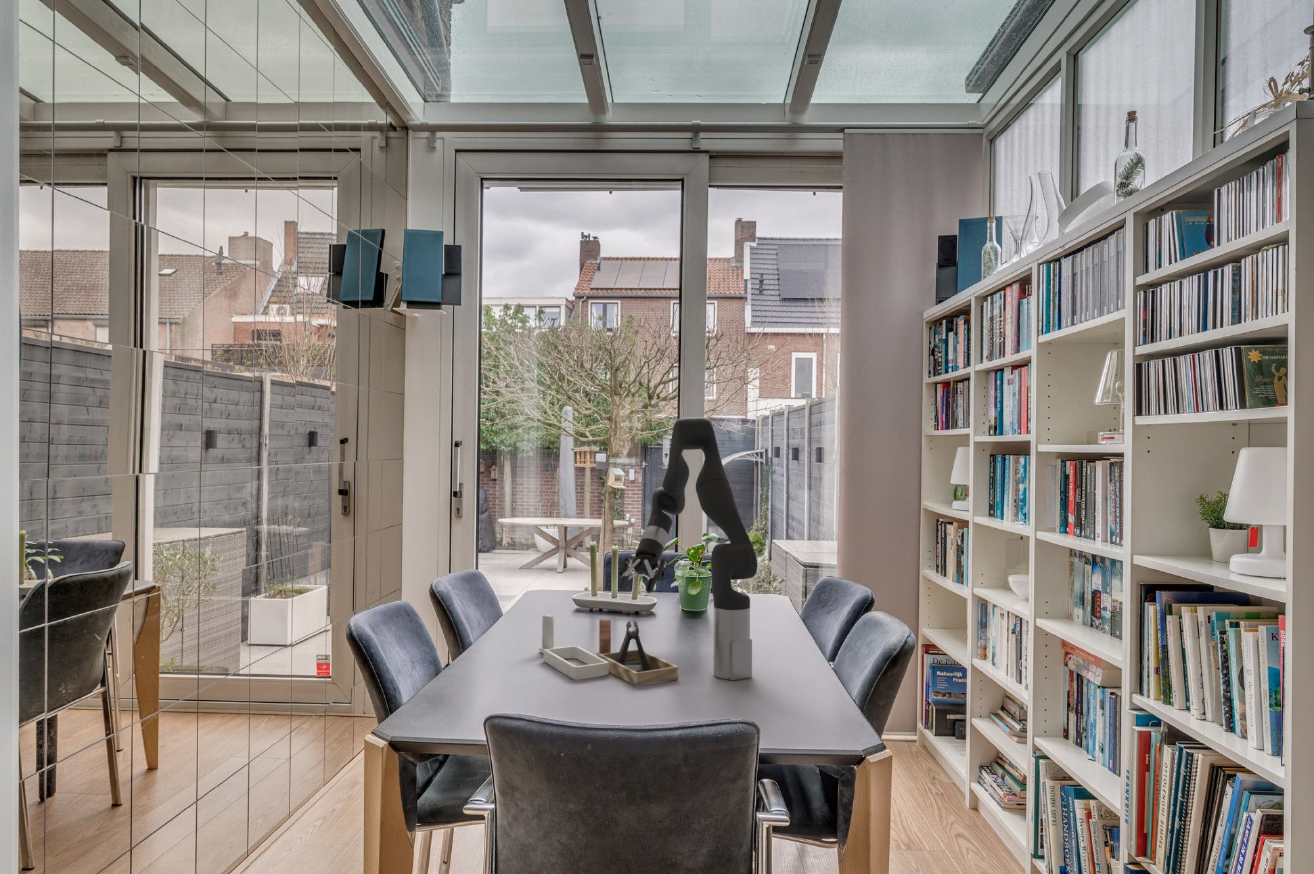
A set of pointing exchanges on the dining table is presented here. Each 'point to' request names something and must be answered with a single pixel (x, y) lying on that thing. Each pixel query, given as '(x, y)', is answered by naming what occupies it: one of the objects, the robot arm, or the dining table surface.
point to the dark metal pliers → (626, 642)
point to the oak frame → (663, 668)
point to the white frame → (569, 655)
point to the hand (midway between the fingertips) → (635, 590)
